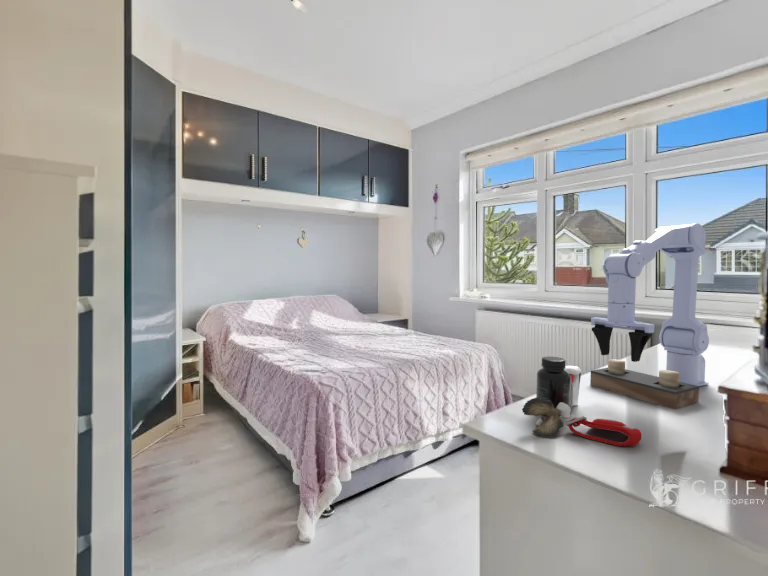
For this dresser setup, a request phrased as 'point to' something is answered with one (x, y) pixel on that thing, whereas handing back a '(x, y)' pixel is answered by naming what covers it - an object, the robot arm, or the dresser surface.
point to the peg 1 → (616, 366)
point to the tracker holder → (607, 425)
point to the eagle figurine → (546, 416)
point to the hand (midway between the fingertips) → (619, 357)
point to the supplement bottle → (553, 381)
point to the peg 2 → (669, 378)
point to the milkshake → (573, 382)
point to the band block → (646, 388)
